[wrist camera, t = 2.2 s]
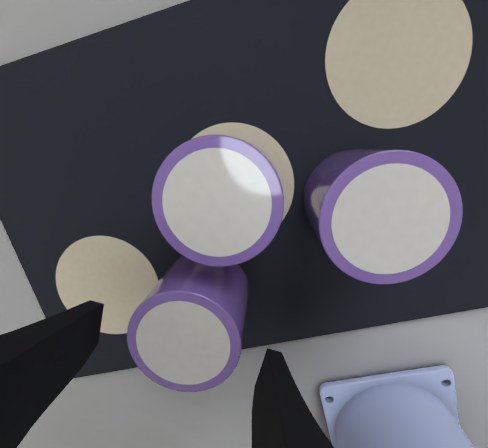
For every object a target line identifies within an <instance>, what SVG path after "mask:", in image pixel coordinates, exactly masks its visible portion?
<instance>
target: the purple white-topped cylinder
mask: <svg viewBox="0 0 488 448" xmlns="http://www.w3.org/2000/svg"><path fill="white" fill-rule="evenodd" d="M152 209H153V214H154V218H155V221H156V223H157V226H158V228H159V230H160V232H161V233H162V235H163V236H164V238H165V239H166V241H167V242H168V243H169V244H170V245H171V246H172V247H173V248H174V249H175V250H176V251H178V252H179V253H180V254H182V255H183V256H185V257H186V258H188V259H190V260H192V261H194V262H197V263H200V264H204V265H208V266H216V267H222V266H232V265H237V264H240V263H243V262H245V261H248V260H250V259H252V258H253V257H255V256H257V255H258V254H259V253H261V252H262V251H263V250H264V249H265V248H266V247H267V246H268V245H269V244H270V242H271V241H272V240H273V238H274V237H275V235H276V233H277V232H278V229H279V227H280V224H281V221H282V217H283V211H284V195H283V188H282V185H281V182H280V179H279V176H278V173H277V170H276V168H275V166H274V164H273V162H272V160H271V159H270V157H269V156H268V155H267V154H266V153H265V152H264V151H263V150H262V149H261V148H259V147H258V146H257V145H255V144H253V143H251V142H248V141H245V140H242V139H239V138H235V137H231V136H226V135H205V136H200V137H196V138H193V139H191V140H188V141H186V142H184V143H183V144H181V145H179V146H178V147H177V148H175V149H174V150H173V151H172V152H171V153H170V154H169V155H168V156H167V157H166V158H165V160H164V161H163V162H162V164H161V166H160V167H159V169H158V171H157V174H156V176H155V179H154V183H153V187H152Z"/></svg>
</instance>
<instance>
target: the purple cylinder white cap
mask: <svg viewBox="0 0 488 448" xmlns="http://www.w3.org/2000/svg"><path fill="white" fill-rule="evenodd" d="M303 206H304V211H305V214H306V217H307V219H308V221H309V223H310V225H311V226H312V228H313V230H314V232H315V234H316V235H317V237H318V239H319V241H320V243H321V245H322V246H323V248H324V250H325V252H326V253H327V255H328V257H329V258H330V259H331V261H332V262H333V263H334V264H335V265H336V266H337V267H338V268H339V269H340V270H341V271H343V272H344V273H346V274H347V275H349V276H351V277H353V278H355V279H358V280H360V281H363V282H368V283H373V284H394V283H400V282H404V281H408V280H411V279H413V278H416V277H418V276H420V275H422V274H424V273H425V272H427V271H428V270H430V269H432V268H433V267H434V266H435V265H436V264H438V263H439V262H440V261H441V260H442V259H443V258H444V257H445V256H446V254H447V253H448V252H449V250H450V249H451V247H452V246H453V244H454V242H455V240H456V238H457V236H458V233H459V231H460V227H461V223H462V215H463V205H462V199H461V195H460V192H459V188H458V186H457V184H456V182H455V180H454V179H453V177H452V176H451V175H450V173H449V172H448V171H447V170H446V169H445V168H444V167H443V166H442V165H441V164H439V163H438V162H437V161H435V160H434V159H432V158H430V157H428V156H426V155H423V154H420V153H418V152H413V151H408V150H387V149H348V150H342V151H339V152H336V153H334V154H332V155H330V156H328V157H327V158H325V159H324V160H322V161H321V162H320V163H319V164H318V165H317V166H316V167H315V168H314V170H313V171H312V172H311V174H310V175H309V177H308V179H307V182H306V184H305V188H304V192H303Z"/></svg>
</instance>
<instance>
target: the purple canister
mask: <svg viewBox="0 0 488 448" xmlns="http://www.w3.org/2000/svg"><path fill="white" fill-rule="evenodd" d="M248 294H249V287H248V281H247V278H246V275H245V273H244V271H243V270H242V268H241V267H240V266H239V265H238V264H237V265H232V266H222V267H216V266H208V265H204V264H200V263H197V262H194V261H192V260H190V259H188V258H186V257H185V256H183V255H182V256H180V257H179V258H178V259H177V260H176V261H175V262H174V263H173V264H172V265H171V267H170V268H169V269H168V270H167V271H166V273H165V274H164V275H163V276H162V278H161V279H160V280H159V281H158V283H157V284H156V285H155V286H154V287H153V289H152V290H151V291H150V292H149V294H148V295H147V296H146V297H145V298H144V300H143V301H142V302H141V303H140V305H139V306H138V307H137V308H136V310H135V311H134V313H133V314H132V316H131V318H130V321H129V324H128V329H127V343H128V348H129V351H130V354H131V356H132V358H133V360H134V362H135V363H136V365H137V366H138V367H139V369H140V370H141V371H142V372H143V373H144V374H145V375H146V376H147V377H149V378H150V379H151V380H153V381H155V382H156V383H158V384H160V385H162V386H164V387H167V388H170V389H173V390H177V391H184V392H196V391H202V390H207V389H210V388H212V387H214V386H216V385H218V384H220V383H221V382H223V381H224V380H225V379H227V378H228V377H229V376H230V374H231V373H232V372H233V371H234V369H235V367H236V366H237V364H238V361H239V358H240V354H241V347H242V340H243V332H244V325H245V317H246V310H247V302H248Z"/></svg>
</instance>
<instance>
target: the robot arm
mask: <svg viewBox="0 0 488 448" xmlns="http://www.w3.org/2000/svg"><path fill="white" fill-rule="evenodd" d="M103 308H104V304H103V303H99V302H95V301H92V300H90V301H87V302H84V303H82V304H79V305H77V306H75V307H72V308H70V309H68V310H65V311H63V312H61V313H58V314H56V315H53V316H51V317H48V318H46V319H44V320H41V321H38V322H36V323H33V324H30V325H28V326H25V327H22V328H20V329H17V330H14V331H11V332H8V333H5V334H2V335H0V448H17V446H18V445H19V444H20V442H21V441H22V439H23V438H24V437H25V435H26V434H27V433H28V431H29V430H30V428H31V427H32V426H33V425H34V423H35V422H36V421H37V420H38V418H39V417H40V416H41V415H42V413H43V412H44V411H45V410H46V409H47V408H48V406H49V405H50V404H51V403H52V402H53V401H54V400H55V398H56V397H57V396H58V395H59V394H60V393H61V391H62V390H63V389H64V388H65V387H66V386H67V385H68V383H69V382H70V381H71V380H72V379H73V378H74V376H75V375H76V374H77V373H78V372H79V371H80V369H81V368H82V367H83V366H84V364H85V363H86V361H87V360H88V359H89V357H90V356H91V354H92V353H93V351H94V350H95V348H96V347H97V345H98V342H99V336H100V329H101V322H102V315H103ZM443 380H446V381H444V382H442V381H443ZM319 393H320V397H321V401H322V406H323V410H324V414H325V418H326V423H327V427H328V431H329V435H330V439H331V443H330V441H329V440H328V438H327V437H326V436H325V434H324V433H323V431H322V430H321V428H320V427H319V425H318V424H317V422H316V420H315V419H314V417H313V416H312V414H311V412H310V410H309V409H308V407H307V405H306V403H305V401H304V399H303V398H302V396H301V394H300V392H299V390H298V388H297V386H296V384H295V382H294V379H293V377H292V375H291V373H290V371H289V368H288V366H287V364H286V361H285V359H284V357H283V355H282V353H281V352H278V351H275V350H271V349H267V351H266V354H265V357H264V360H263V363H262V366H261V369H260V372H259V375H258V378H257V381H256V384H255V389H254V397H253V407H252V448H475V447H474V446H473V444H472V443H471V441H470V440H469V438H468V437H467V435H466V434H465V433H464V431H463V430H462V428H461V427H460V425H459V417H458V408H457V399H456V389H455V380H454V373H453V371H452V370H451V369H450V368H449V367H448V366H446V365H439V366H432V367H426V368H419V369H412V370H406V371H399V372H392V373H386V374H379V375H372V376H366V377H359V378H352V379H346V380H339V381H332V382H326V383H322V384H321V385H320V387H319ZM328 396H331V397H330V398H326V397H328Z"/></svg>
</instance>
